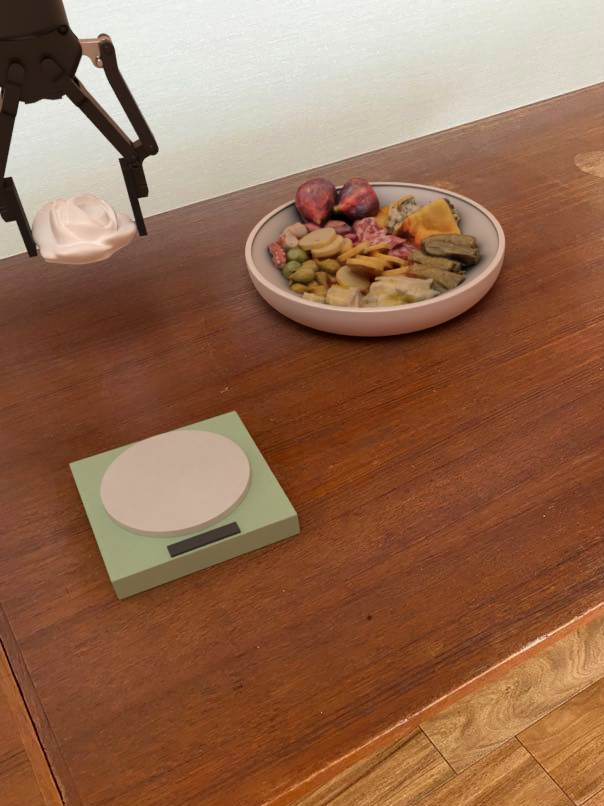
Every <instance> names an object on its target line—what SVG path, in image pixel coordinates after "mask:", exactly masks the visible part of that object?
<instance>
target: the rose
mask: <svg viewBox="0 0 604 806" xmlns="http://www.w3.org/2000/svg"><path fill="white" fill-rule="evenodd" d="M31 231H32V237H33V240H34V242H35V244H36V247H37V249H39V252H40V255H41V257H42V258H43V259H44V261H45V262H46V263H50V264H51V263H52V264H63V265H86V264H92V263H97V262H100V261H104V260H107V259H109V258H110V257H111V256H112V255H113V254H114V253H116V252H117V251H119V250H120V249H122V248H124V247H126V246H127V245H129V244H130V243H131V242H132V240H133V239H134V238H135V236H136V235H137V232H138V228H137V225H136V222H134V221H133V219H132V218H131V216H130V215H128V214H126V213H117V212H116V210H115V209H114V207H113V206H112V204H110V202H108V201H107V200H105V199H102V198H99V197H97V196H96V195H93V194H90V193H83V194H75V195H72V196H71V197H69V198H68V199H62V198H61V199H57V200H55V201H49V202H47V203H45V204H44V205H43V206H42V207H41V208H40V209H39V210H38V211H37V212H36V214H35V215H34V217H33V220H32V224H31Z"/></svg>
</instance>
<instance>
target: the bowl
mask: <svg viewBox="0 0 604 806" xmlns="http://www.w3.org/2000/svg"><path fill="white" fill-rule="evenodd" d="M505 250H506V237H505V232H504V229H503V227H502V225H501V224H500V222H499V221H498V219H497V218H496V217H495V216H494V215H493V214H492V213H491V212H490V211H489V210H488V209H487V208H485V206H482V205H481V204H479V203H478V202H476V201H474V200H472V199H471V198H469V197H466V196H464V195H462V194H459V193H457V192H454V191H451V190H447V189H444V188H441V187H436V186H431V185H427V184H420V183H411V182H400V181H373V182H372V181H371V182H369V181H368V180H366V179H364V178H361V177H352V178H350V179H349V180H347V181H346V182H345V183H344V184H342V185H337V186H336V185H335V184H334V183H332V182H331V181H330V180H329V179H325V178H321V177H316V178H312V179H310V180H306V182H304V183H302V184H301V185H300V186H299V187H298V188H297V190H296V194H295V197H294V199H292V200H289V201H287V202H285V203H283V204H282V205H280V206H278V207H276V208H275V209H273V210H272V211H271V212H269V213H268V214H266V215H265V216H264V217H262V218H261V220H259V222H257V224H256V225H255V226H254V227H253V229H252V230H251V232H250V233H249V235H248V237H247V240H246V243H245V249H244V256H245V262H246V269H247V271H248V274H249V277H250V279H251V282H252V284H253V285H254V287H255V289H256V291H257V292H258V293H259V294H260V296H261V297H262V298H263V299H264V301H265V302H267V303H268V304H269V305H270V306H271V307H272V308H273V309H275V310H276V311H277V312H278V313H280V314H282V315H283V316H285V317H286V318H288V319H290V320H292V321H294V322H296V323H298V324H300V325H303V326H306V327H308V328H311V329H313V330H317V331H321V332H325V333H330V334H335V335H341V336H342V335H343V336H349V337H351V336H352V337H389V336H397V335H403V334H410V333H414V332H418V331H422V330H426V329H429V328H432V327H435V326H438V325H441V324H444V323H446V322H448V321H450V320H452V319H454V318H456V317H458V316H460V315H462V314H463V313H465V312H467V311H468V310H469V309H470V308H472V307H473V306H475V305H476V304H478V302H480V300H482V299H483V298H484V297H485V296H486V294H487V293H488V292H489V291H490V290H491V288H492V287H493V286H494V284H495V282H496V281H497V279H498V277H499V275H500V273H501V271H502V267H503V264H504V259H505V254H506V253H505Z"/></svg>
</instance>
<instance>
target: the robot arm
mask: <svg viewBox="0 0 604 806" xmlns="http://www.w3.org/2000/svg"><path fill="white" fill-rule="evenodd" d="M83 56H84V57H85V56H86V57H87V58H89V59H90V61H91V63H92V65H93V66H94V67H95V68H97V69H103V72H104V75H105V77H106V78H105V79H106V80H107V82H108V84H109V86H110V87H111V89H112V91H113V93H114V95H115V97H116V98H117V100H118V102H119V104H120V106H121V109H123V111H124V113H125V116H126V117H127V120H129V122H130V125H131V126H132V129H133V130H134V132H135V134H136V136H137V137H138V139H136V140H135V141H133V140H132V139H130V137H129V136H128V135H127V134H126V132H125V131H124V130H123V129H122V128H121V126H119V125H118V124H117V122H116V121H115V120H114V119H113V118H112V117H111V115H110V114H109V113H108V112H107V111H106V110H105V109H104V107H103V106H101V104H100V103H99V102H98V101H97V99H95V97H94V96H93V95H92V94H91V93H90V92H89V91H88V89H87V88H86V87H85V85H84V84H83V82H81V80H80V79H79V78H78V77H77V76H76V73H77V72H78V69H79V65H80V62H81V61H82V57H83ZM64 96H66V97H67V98H68V100H69V101H70V102H71V103H72V104H73V105H74V106H75V107H76V108H78V109H79V110H80V111H81V112H82V114H84V115H85V117H86V118H87V119H88V120H89V121H90V122H91V124H92V125H94V127H95V128H96V129H97V130H98V131H99V132H100V133H101V135H102V136H104V139H106V140H107V141H108V143H110V145H111V146H112V147H113V148H114V149H115V150H116V151H117V152H118V153H119V154H120V155H121V157H119V158H118V159H117V160H118V163H119V166H120V170H121V175H122V177H123V181H124V184H125V185H124V186H125V188H126V192H127V196H128V199H129V204H130V207H131V210H132V214H133V218H134V223H135V224H136V225H137V228H138V229H137V232H138V235H139V237H145V236H148V231H147V227H146V223H145V219H144V216H143V212H142V208H141V205H140V201H139V199H142V198H148V197H149V193H150V191H149V186H148V182H147V179H146V175H145V170H144V167H143V164H144V161H145V159H147V158H148V157H150V156H152V157H153V156H154V157H155V156H156V155H158V154H159V152H160V151H159V150H160V149H159V145H158V142H157V140H156V137H155V135H154V133H153V132H152V129H151V127H150V126H149V124H148V122H147V120H146V118H145V116H144V115H143V112H142V110H141V108H140V107H139V104H138V102H137V101H136V98H135V97H134V95H133V93H132V91H131V88H129V85H128V84H127V82H126V80H125V77H124V76H123V74H122V72H121V70H120V68H119V65H118V59H117V53H116V48H115V46H114V43H113V41H112V38H111V36H110V35H109V34H107V33H105V32H102V33H100V34H99V35H97V37H95V38H92V37H91V38H79V37H78V36H77V35H76V34H75V33H74V31H73V30H72V28H71V26H70V23H69V19H68V16H67V12H66V8H65V5H64V1H63V0H0V218H1V219H2V220H3V221H4V222H5V223H11V222H16V225H17V228H18V231H19V234H20V237H21V238H22V239H21V240H22V242H23V244H24V247H25V249H26V252H27V254H28V257H29V258H34V257H38V256H39V255H38V254H39V253H38V246H37V245H36V244H35V242H34V240H33V237H32V227H31V225H30V222H29V220H28V217H27V215H26V211H25V209H24V206H23V203H22V200H21V198H20V195H19V193H18V189H17V187H16V183H15V182H14V178H13V176H6V177H5V175H6V169H7V164H8V159H9V154H10V149H11V144H12V139H13V138H12V137H13V132H14V128H15V123H16V118H17V116H18V111H19V107H20V106H19V104H20V102H21V103H24V105H30V104H35V103H38V102H39V101H42V100H49V101H57V100H63V97H64Z"/></svg>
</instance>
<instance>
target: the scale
mask: <svg viewBox="0 0 604 806" xmlns="http://www.w3.org/2000/svg"><path fill="white" fill-rule="evenodd" d="M68 466H69V468H70V471H71V474H72V477H73V479H74V482H75V485H76V487H77V490H78V493H79V496H80V499H81V501H82V505H83V508H84V510H85V513H86V515H87V519H88V521H89V525H90V527H91V530H92V532H93V535H94V538H95V541H96V544H97V546H98V549H99V552H100V555H101V557H102V560H103V563H104V566H105V569H106V571H107V575H108V577H109V579H110V583H111V585H112V587H113V589H114V592H115V594H116V597H117V599H118V600H119V601H121V600H124V599H127V598H129V597H132V596H135V595H137V594H141V593H142V592H145V591H148V590H151V589H153V588H156V587H159V586H162V585H165V584H167V583H170V582H172V581H175V580H178V579H180V578H184V577H186V576H188V575H191V574H194V573H197V572H199V571H202V570H205V569H207V568H210V567H213V566H215V565H219V564H221V563H223V562H226V561H230V560H232V559H235V558H237V557H240V556H242V555H245V554H248V553H250V552H254V551H257V550H259V549H262V548H265V547H267V546H269V545H270V546H271V545H272V544H275V543H277V542H280V541H283V540H286V539H288V538H291V537H294V536H297V535H299V534H301V528H300V521H299V516H298V515H299V514H298V512H297V510H296V509H295V508H294V506H293V504H292V503H291V501H290V499H289V497H288V496H287V494H286V493H285V491H284V489H283V488H282V486H281V485H280V483H279V481H278V479H277V477H276V475H275V474H274V472H273V471H272V469H271V467H270V466H269V464H268V462H267V460H266V459H265V458H264V456H263V454H262V452H261V451H260V449H259V448H258V446H257V444H256V442H255V441H254V439H253V438H252V436H251V434H250V432H249V431H248V429H247V427H246V425H245V424H244V422H243V421H242V419H241V417H240V416H239V414H238V412H237V411H236V410H233V411H229V412H227V413H223V414H219V415H217V416H214V417H211V418H208V419H204V420H202V421H198V422H195V423H192V424H189V425H186V426H182V427H179V428H176V429H173V430H170V431H166V432H164V433H160V434H157V435H154V436H153V435H152V436H151V437H148V438H144V439H141V440H139V441H136V442H133V443H132V442H131V443H129V444H126V445H123V446H120V447H116V448H113V449H110V450H107V451H104V452H100V453H98V454H95V455H91V456H88V457H84V458H81V459H79V460H76V461H72V462H70V463H69V464H68Z"/></svg>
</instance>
